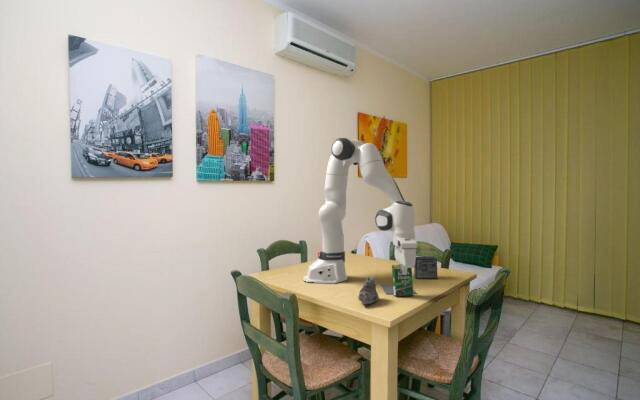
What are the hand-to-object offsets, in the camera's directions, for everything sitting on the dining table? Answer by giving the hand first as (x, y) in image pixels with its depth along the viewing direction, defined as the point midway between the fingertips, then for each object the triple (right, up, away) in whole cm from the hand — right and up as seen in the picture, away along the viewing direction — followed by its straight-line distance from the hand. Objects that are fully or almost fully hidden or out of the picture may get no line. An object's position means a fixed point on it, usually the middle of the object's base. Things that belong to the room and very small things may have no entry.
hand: (404, 274), depth 141 cm
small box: (+19, -9, +33) cm, 39 cm away
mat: (0, -10, +12) cm, 16 cm away
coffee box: (0, -10, +3) cm, 10 cm away
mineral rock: (-16, -11, -4) cm, 20 cm away
